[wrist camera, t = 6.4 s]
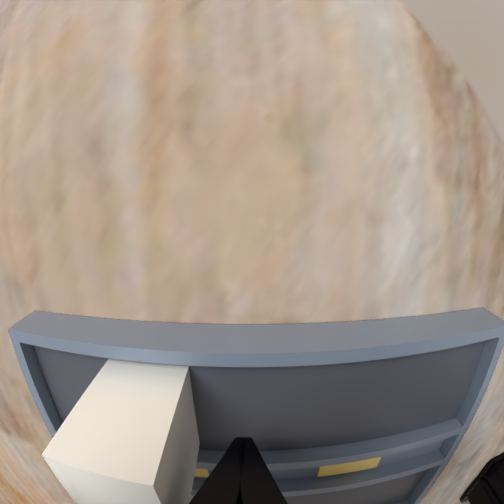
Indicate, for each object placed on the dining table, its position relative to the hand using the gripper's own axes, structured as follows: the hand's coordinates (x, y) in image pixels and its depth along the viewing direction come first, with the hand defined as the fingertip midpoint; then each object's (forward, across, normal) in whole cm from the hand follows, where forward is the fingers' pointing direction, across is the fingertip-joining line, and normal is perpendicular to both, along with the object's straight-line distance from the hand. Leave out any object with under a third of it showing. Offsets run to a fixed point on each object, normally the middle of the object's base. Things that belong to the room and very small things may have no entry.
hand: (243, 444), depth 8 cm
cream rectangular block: (+2, +3, 0) cm, 4 cm away
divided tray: (+3, -1, +4) cm, 5 cm away
